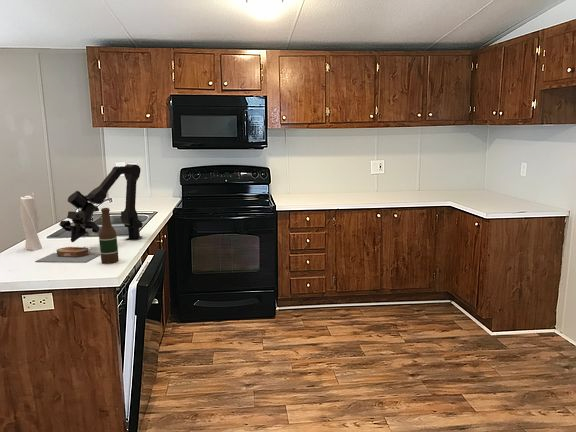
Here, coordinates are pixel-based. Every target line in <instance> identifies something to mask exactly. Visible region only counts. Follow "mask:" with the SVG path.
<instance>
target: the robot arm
mask: <svg viewBox="0 0 576 432" xmlns="http://www.w3.org/2000/svg"><path fill="white" fill-rule="evenodd" d="M141 171H142V169H141V167H140V166H139V164H130V163H128V164H126V165H124V166H123V165H121V166H114V167H112V169H111V170H110V172H109V173H108V174H107V176H105V178H104V179H103V181H102V182H101V183H100V184H99V186H97V187H96V188H94V189H92V190H91V191H90V192H89V193H88V194H87V195H84V194H83V193H81V192H80V191H79V190H75V192H73V193H72V194H70V195H69V196H68V198H67V202H68V203H69V204H71V205H72V206H73V207H74V208H76V209H80V210H79V211H71V210H70V211H68V212H67V217H66V218H67V219H70V220H71V221H69V220H60V222H59V223H58V225H59V226H60V227H61V229H63V230H64V231H65V232H70V233H71V234H70V235H71V236H70V242H71V243H75V242H76V241H78V240H79V239H80V238H82V237H83V236H84V235H87V234H88V230H89V229H90V230H91V231H92V233H97V234H99V232H100V226H99V225H98V224H97V223H96V222H95V221H93V219H92V217H93V215H94V213H96V212H100V209H99V206H98V205H101V204H103V203H104V202H105V200H106V198H107V196H108V191H110V189H111V188H112V187H113V185H114V184H115V183H116V181H118V179H119V178H120V176H121V175H124V178H125V181H126V189H125V190H126V192H125V208H124V210H123V211H120V220H121V223H122V224H123V226H124V227H125V228H127V230H128V231H127V233H128V237H126V238H125V239H126V240H127V241H128V240H130V241H133V240H140V239H141V238H143V236H142V235H140V234H141V232H140V229H141V228H143V221H141V220H139V217H138V215H139V214H138V212H137V210H136V199H137V198H136V197H137V183H138V182H137V181H138V180H139V179H140V175H141ZM94 204H96V205H94Z"/></svg>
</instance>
